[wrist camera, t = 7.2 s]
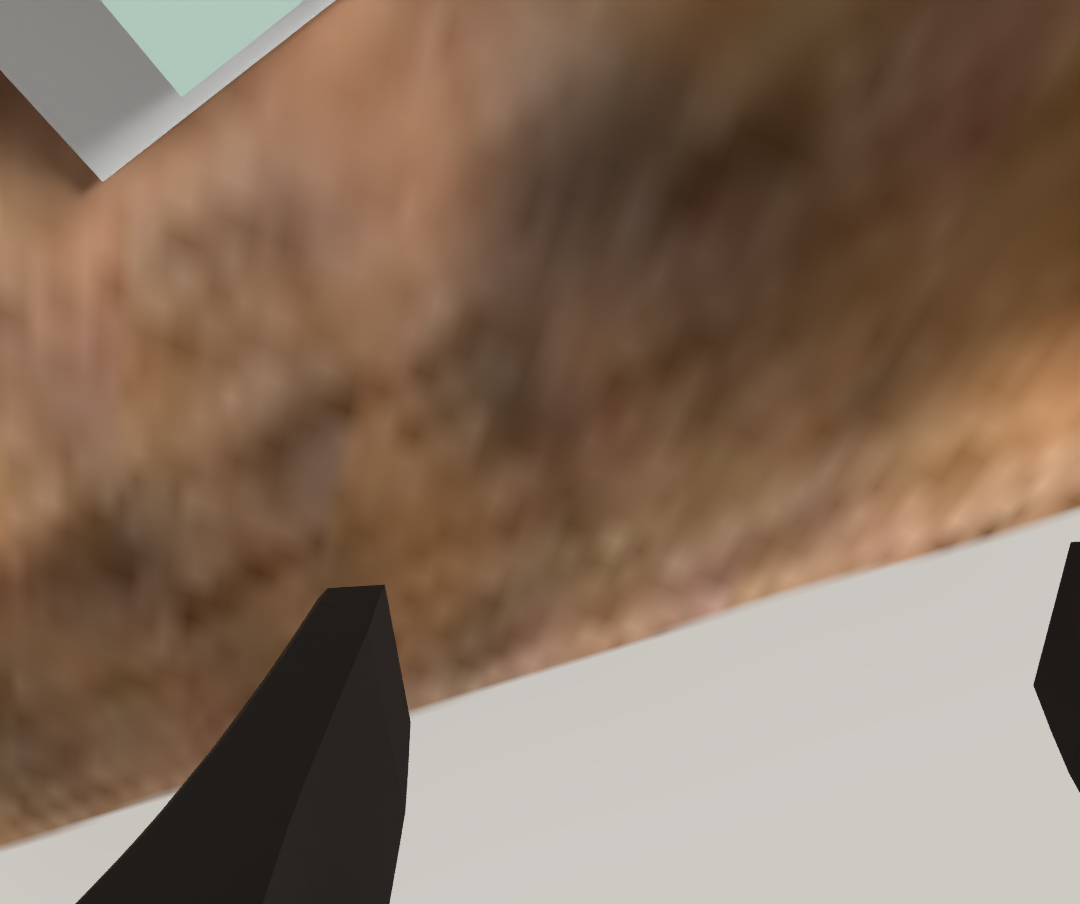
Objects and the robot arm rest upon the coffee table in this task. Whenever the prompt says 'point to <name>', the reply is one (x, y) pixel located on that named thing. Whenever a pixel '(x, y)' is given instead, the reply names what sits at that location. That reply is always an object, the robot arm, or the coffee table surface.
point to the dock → (109, 75)
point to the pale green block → (195, 32)
